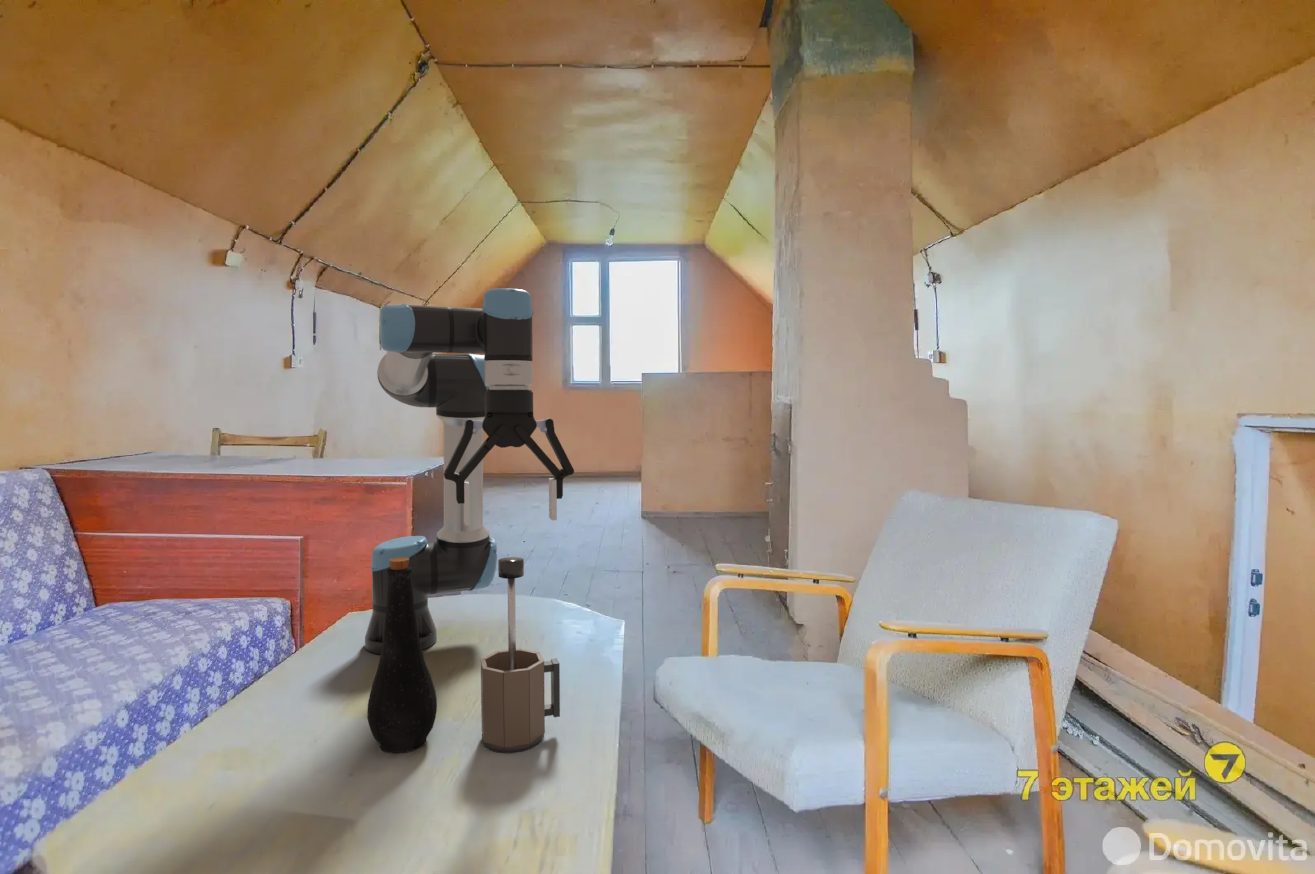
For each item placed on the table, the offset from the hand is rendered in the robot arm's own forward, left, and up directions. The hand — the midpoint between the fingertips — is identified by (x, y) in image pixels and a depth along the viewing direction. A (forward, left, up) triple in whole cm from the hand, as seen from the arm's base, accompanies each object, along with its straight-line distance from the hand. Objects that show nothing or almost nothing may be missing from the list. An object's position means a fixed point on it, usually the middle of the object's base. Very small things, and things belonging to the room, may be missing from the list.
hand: (510, 521), depth 116 cm
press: (0, +1, -36) cm, 36 cm away
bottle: (-4, -17, -36) cm, 40 cm away
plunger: (0, 0, -27) cm, 27 cm away
